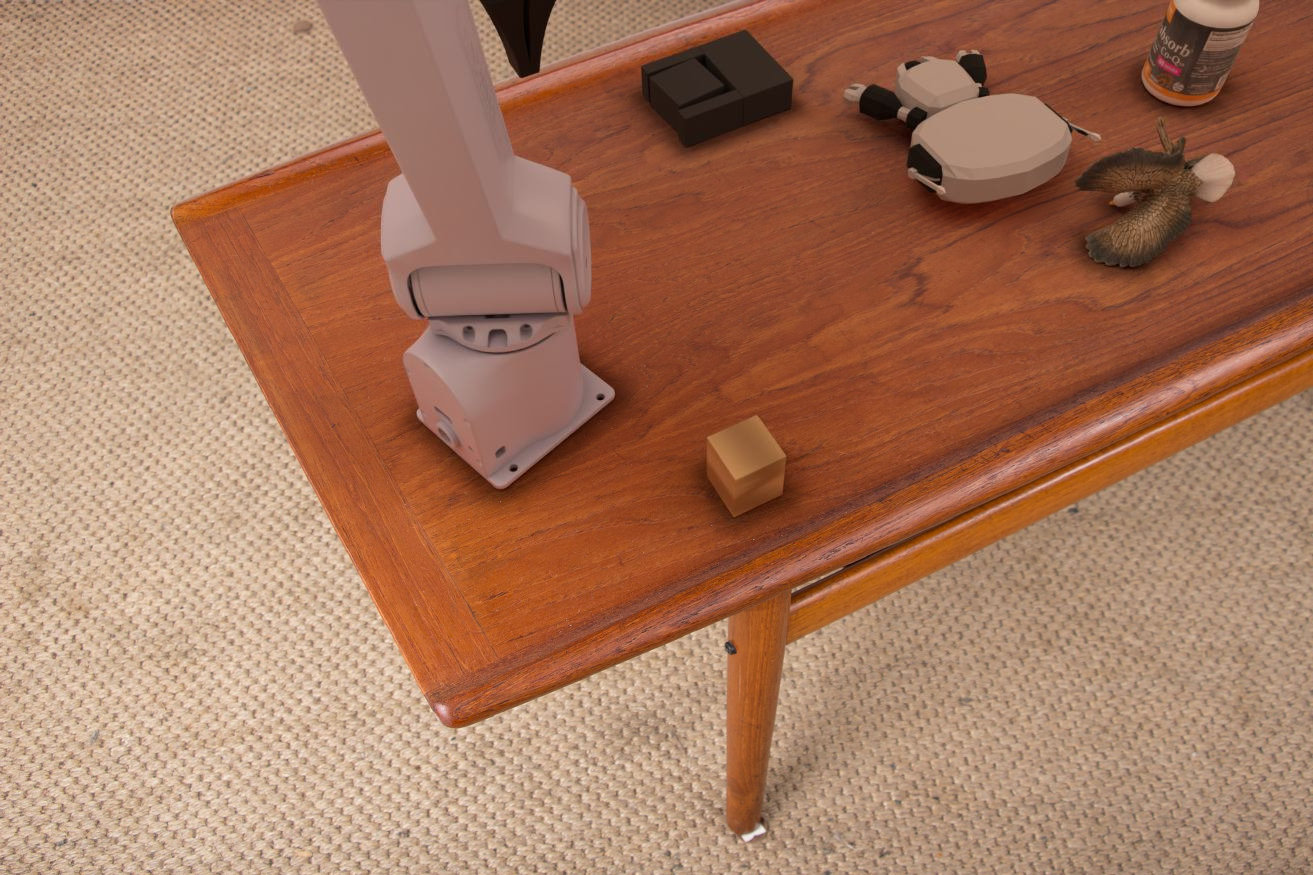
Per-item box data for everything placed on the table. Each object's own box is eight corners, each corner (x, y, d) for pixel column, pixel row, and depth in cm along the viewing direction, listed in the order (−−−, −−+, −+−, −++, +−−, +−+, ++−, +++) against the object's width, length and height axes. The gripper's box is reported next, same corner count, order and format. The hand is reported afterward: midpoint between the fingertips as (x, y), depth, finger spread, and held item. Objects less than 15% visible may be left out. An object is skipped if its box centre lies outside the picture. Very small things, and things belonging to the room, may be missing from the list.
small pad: (679, 134, 79) (679, 105, 77) (650, 106, 81) (649, 77, 79) (724, 114, 80) (724, 85, 78) (694, 86, 82) (694, 57, 80)
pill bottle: (1124, 71, 82) (1171, -52, 73) (1191, 55, 82) (1244, -69, 74) (1166, 117, 78) (1220, -6, 70) (1235, 100, 79) (1296, -24, 71)
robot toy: (829, 124, 80) (938, 243, 72) (833, 70, 77) (948, 189, 68) (970, 79, 83) (1093, 188, 74) (980, 24, 79) (1110, 133, 70)
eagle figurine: (1110, 144, 75) (1041, 188, 71) (1201, 92, 69) (1132, 136, 64) (1165, 238, 76) (1100, 288, 71) (1261, 194, 69) (1196, 246, 65)
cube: (733, 518, 60) (735, 480, 57) (706, 476, 62) (706, 436, 59) (782, 495, 61) (787, 456, 58) (754, 454, 63) (757, 414, 60)
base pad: (685, 148, 78) (684, 119, 76) (642, 94, 82) (640, 65, 80) (791, 108, 80) (793, 79, 78) (744, 58, 84) (745, 28, 82)
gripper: (580, -211, 62) (599, 1, 73) (339, -144, 59) (397, 68, 70) (634, -158, 58) (646, 57, 69) (381, -83, 55) (435, 131, 66)
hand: (524, 67), depth 69 cm, fingers closed
